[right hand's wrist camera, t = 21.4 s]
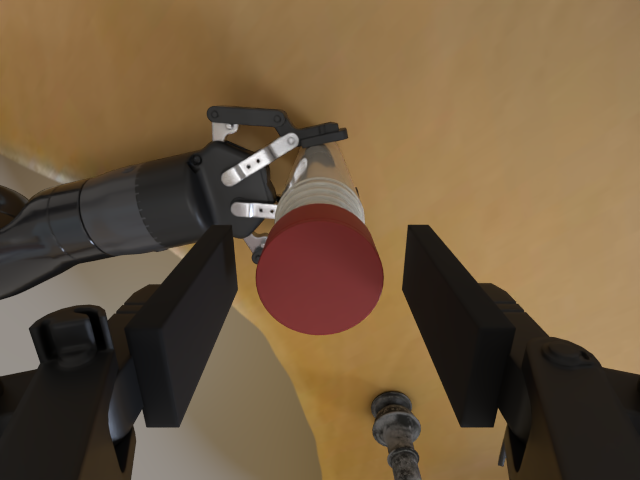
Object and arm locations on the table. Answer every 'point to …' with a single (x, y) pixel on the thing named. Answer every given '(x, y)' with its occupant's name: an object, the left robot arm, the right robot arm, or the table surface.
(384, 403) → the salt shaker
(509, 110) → the table surface
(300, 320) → the cap
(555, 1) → the table surface
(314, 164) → the bottle
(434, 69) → the table surface
